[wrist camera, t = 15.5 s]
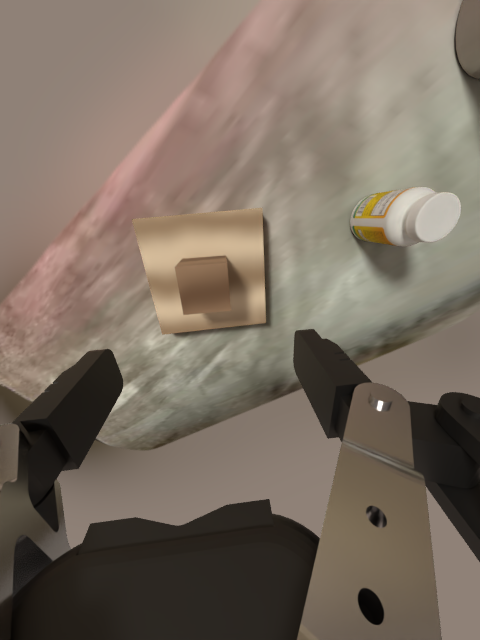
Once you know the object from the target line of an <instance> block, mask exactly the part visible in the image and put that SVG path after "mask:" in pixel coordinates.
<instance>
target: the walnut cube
mask: <svg viewBox="0 0 480 640" xmlns="http://www.w3.org/2000/svg"><path fill="white" fill-rule="evenodd" d="M175 272H176V277H177V283H178V288H179V293H180V299H181V304H182V310H183V315H190V314H201V313H212V312H224V311H231V304H230V292H229V280H228V267H227V260H226V255H224V256H210V257H197V258H183V259H182V260H181V261H180V262H179V263H178V264H177V265H176V266H175Z"/></svg>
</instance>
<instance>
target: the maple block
mask: <svg viewBox="0 0 480 640" xmlns="http://www.w3.org/2000/svg"><path fill="white" fill-rule="evenodd" d="M132 222H133V225H134V229H135V233H136V237H137V240H138V244H139V248H140V252H141V256H142V259H143V263H144V267H145V271H146V274H147V278H148V282H149V286H150V290H151V293H152V297H153V301H154V305H155V308H156V312H157V316H158V320H159V323H160V327H161V331H162V334H171V333H180V332H189V331H198V330H207V329H216V328H225V327H234V326H243V325H252V324H261V323H266V306H265V275H264V245H263V215H262V208H255V209H244V210H232V211H221V212H209V213H198V214H187V215H175V216H164V217H153V218H141V219H132ZM224 255H226V260H227V267H228V280H229V292H230V304H231V311H224V312H212V313H201V314H190V315H183V310H182V304H181V299H180V293H179V288H178V283H177V277H176V272H175V266H176V265H177V264H178V263H179V262H180V261H181V260H182V259H183V258H197V257H210V256H224Z"/></svg>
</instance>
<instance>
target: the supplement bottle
mask: <svg viewBox="0 0 480 640" xmlns="http://www.w3.org/2000/svg"><path fill="white" fill-rule="evenodd" d="M460 213H461V204H460V201H459V199H458V197H457V196H456V195H455V194H453V193H449V192H441V193H436V192H435V191H433V190H432V189H430V188H426V187H414V188H408V189H402V190H395V191H389V192H382V193H376V194H371V195H369V196H367V197H365V198H363V199H362V200H361V201H360V202H359V203H358V204H357V205H356V207H355V208H354V210H353V212H352V215H351V219H350V226H351V230H352V232H353V234H354V235H355V236H356V237H357V238H358V239H360V240H363V241H369V242H376V243H382V244H389V245H395V246H411V245H414V244H416V243H419V242H435V241H438V240H440V239H442V238H444V237H445V236H446V235H448V234H449V233H450V232H451V231H452V229H453V228H454V227H455V225H456V223H457V222H458V219H459V217H460Z"/></svg>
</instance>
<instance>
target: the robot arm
mask: <svg viewBox="0 0 480 640" xmlns="http://www.w3.org/2000/svg"><path fill="white" fill-rule="evenodd" d="M456 51H457V55H458V59H459V62H460V64H461V66H462V68H463V69H464V70H465V71H466V72H467V73H468V75H470V76H472V77H474V78H476V79H480V0H463V2H462V4H461V8H460V12H459V16H458V20H457V27H456ZM293 362H294V369H295V372H296V375H297V377H298V379H299V381H300V383H301V385H302V387H303V389H304V391H305V393H306V395H307V397H308V399H309V401H310V403H311V405H312V407H313V409H314V411H315V413H316V415H317V417H318V419H319V421H320V424H321V426H322V428H323V430H324V432H325V434H326V436H327V438H336V437H339V438H340V440H341V442H342V445H341V449H340V453H339V457H338V462H337V466H336V471H335V475H334V480H333V484H332V488H331V493H330V497H329V502H328V506H327V510H326V514H325V519H324V523H323V527H322V532H321V537H320V538H319V537H318V536H317V535H315V534H314V533H313V532H312V531H310V530H309V529H307V528H306V527H304V526H303V525H301V524H299V523H297V522H295V521H294V520H292V519H289V518H286V517H284V516H281V515H276V514H272V512H271V507H270V500H269V499H266V500H259V501H251V502H244V503H237V504H230V505H226V506H223V507H221V508H219V509H217V510H215V511H212V512H210V513H208V514H206V515H204V516H202V517H199V518H197V519H195V520H193V521H191V522H189V523H187V524H184V525H181V526H174V525H169V524H165V523H160V522H155V521H150V520H146V519H141V518H136V517H135V518H128V519H121V520H114V521H106V522H100V523H92V524H90V526H89V528H88V531H87V533H86V536H85V538H84V540H83V543H82V544H80V545H78V546H76V547H74V548H73V549H71V548H70V546H69V543H68V539H67V534H66V527H65V519H64V511H63V503H62V496H61V488H60V483H59V482H58V480H57V477H58V475H59V474H60V472H61V471H64V470H72V469H78V468H79V467H80V465H81V463H82V462H83V460H84V458H85V456H86V455H87V453H88V451H89V449H90V447H91V445H92V444H93V442H94V440H95V438H96V437H97V435H98V433H99V431H100V430H101V428H102V426H103V424H104V422H105V421H106V419H107V417H108V415H109V413H110V412H111V410H112V408H113V406H114V405H115V403H116V401H117V399H118V397H119V396H120V394H121V392H122V389H123V378H122V375H121V373H120V370H119V367H118V365H117V362H116V359H115V357H114V354H113V352H112V351H111V350H109V349H104V350H94V351H89V352H87V353H86V354H85V355H84V356H83V357H82V358H81V359H80V360H79V361H78V362H77V363H76V364H75V365H74V366H72V367H71V368H69V369H68V370H66V371H64V372H63V373H62V374H61V375H60V376H59V377H58V378H57V379H56V380H55V381H54V382H53V384H51V385H50V386H49V387H48V388H47V389H46V390H45V392H44V393H42V394H41V395H40V396H39V397H38V398H37V399H36V400H35V401H34V402H33V403H32V404H31V405H30V406H29V407H28V408H26V409H25V410H24V411H23V413H21V414H20V415H19V417H17V418H16V419H15V421H13V423H11V424H3V425H0V640H442V637H441V629H440V628H441V627H440V619H439V609H438V599H437V589H436V580H435V571H434V561H433V551H432V543H431V532H430V523H429V513H428V504H427V495H426V487H427V488H428V490H429V491H430V493H431V494H432V495H433V497H434V498H435V500H436V501H437V502H438V504H439V505H440V506H441V508H442V509H443V511H444V512H445V514H446V515H447V516H448V518H449V519H450V521H451V522H452V523H453V525H454V526H455V528H456V529H457V531H458V532H459V533H460V535H461V536H462V537H463V539H464V540H465V542H466V543H467V545H468V546H469V548H470V549H471V550H472V552H473V553H474V554H475V556H476V557H477V559H478V560H479V562H480V398H478V397H475V396H472V395H468V394H464V393H456V392H450V393H446V394H444V395H442V396H441V398H440V400H439V403H438V405H432V404H424V403H417V402H409V401H407V400H406V399H405V398H404V397H403V396H402V395H401V394H400V393H398V392H397V391H396V390H394V389H392V388H390V387H388V386H385V385H382V384H378V383H372V382H371V381H370V379H369V378H368V377H367V376H366V375H365V374H364V373H363V372H362V371H361V370H360V369H359V368H358V366H357V365H356V364H355V363H354V362H353V361H352V360H350V358H349V357H348V356H347V355H346V353H345V354H344V351H343V350H342V349H341V348H340V347H339V346H338V345H337V344H335V343H334V342H332V341H330V340H328V339H322V338H321V337H320V336H319V335H318V333H317V332H316V331H315V330H314V329H308V330H298V331H296V332H295V337H294V358H293Z"/></svg>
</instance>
